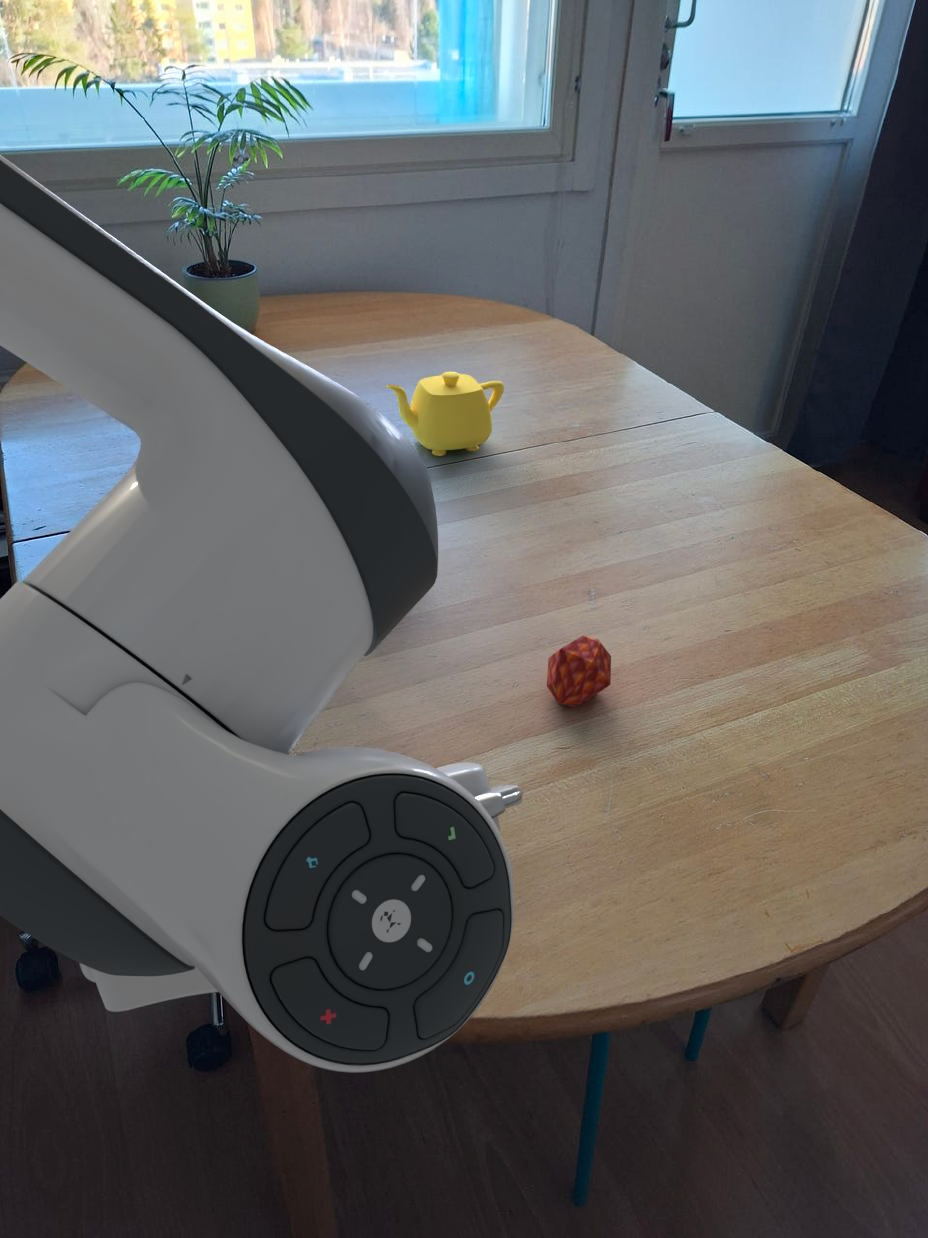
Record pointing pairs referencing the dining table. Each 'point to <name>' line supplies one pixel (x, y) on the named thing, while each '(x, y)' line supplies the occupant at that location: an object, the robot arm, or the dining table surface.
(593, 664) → the decorative stone
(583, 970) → the dining table surface
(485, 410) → the teapot
